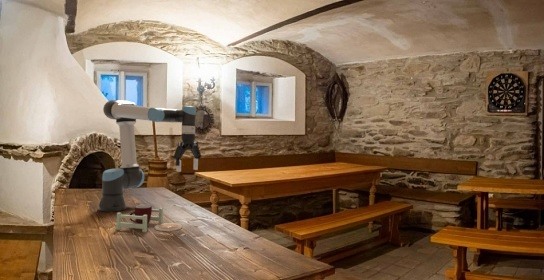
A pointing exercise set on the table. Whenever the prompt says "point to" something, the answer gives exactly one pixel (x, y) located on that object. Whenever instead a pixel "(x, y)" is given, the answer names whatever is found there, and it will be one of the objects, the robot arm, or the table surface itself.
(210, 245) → the table surface
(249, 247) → the table surface
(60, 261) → the table surface
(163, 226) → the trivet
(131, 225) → the cradle
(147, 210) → the mug
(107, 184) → the robot arm
